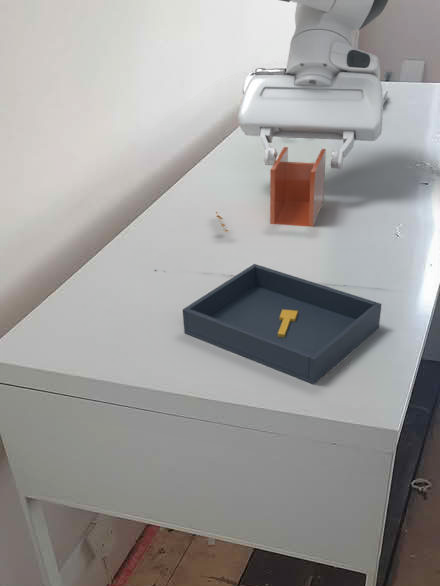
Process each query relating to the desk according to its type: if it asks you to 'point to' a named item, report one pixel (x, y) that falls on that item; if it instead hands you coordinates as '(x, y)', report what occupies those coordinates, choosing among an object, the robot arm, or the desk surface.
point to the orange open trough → (296, 190)
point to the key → (286, 321)
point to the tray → (265, 320)
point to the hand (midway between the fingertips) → (302, 165)
